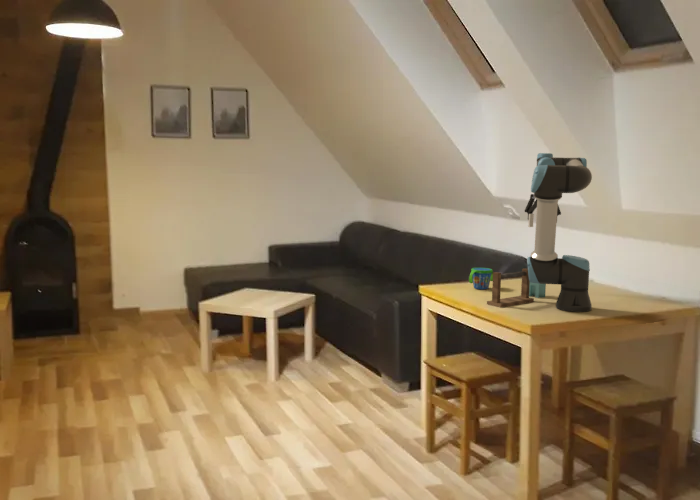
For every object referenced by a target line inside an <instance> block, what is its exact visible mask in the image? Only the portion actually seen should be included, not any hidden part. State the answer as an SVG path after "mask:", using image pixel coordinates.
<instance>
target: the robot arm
mask: <svg viewBox="0 0 700 500" xmlns="http://www.w3.org/2000/svg"><path fill="white" fill-rule="evenodd" d="M587 164H588V161H587V158H585V157H555V156H554V154H553V153H551V152H549V153H547V152H546V153H545V152H544V153H541V152H540V153H537V156H536V167H534V169H533V174H532V177H531V178H532V180H531V186H530V193H531V194H530V195H529V196H530V197H529V200H528V202H527V203H526V204H527V205H526V206H525V207H524V208H525V209H524V213H527V221H528V225H527V226H528V227H529V228H533V227H534V216H535V214H534V211H535V210H536V220H535V234H534V236H535V237H534V238H535V239H534V250H532V252H531V253H530V256H528V257H527V258H526V259H527V260H526V263H527V269H528V275H529V281H530V282H531V283H538V284H546V285H558V286H559V285H560V292H559V295H558V297H557V299H556V302H555V308H556V309H557V310H561V311H565V312H566V311H567V312H576V313H577V312H579V313H580V312H581V313H583V312H584V313H585V312H589V311H592V306H593V305H592V302H591V298H590V294H589V282H590V260H588V259H587V258H584V257H580V256H576V255H572V254H571V255H569V254H567V255H566V254H564V255H562V256H561V258H559V256H558V254H557V252H555V248H556V236H557V235H556V234H557V223H558V216H560V215H562V212H561V209H560V205H559V201H560V200H562V197H563V194H575V193H578V192H581V191H583V190H584V189H586V188H587V187H588V186H589V185H590V184H591V182H592V180H593V179H592V178H593V175H592V172H591V170H590V168H588V165H587Z"/></svg>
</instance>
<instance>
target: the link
mask: <svg viewBox="0 0 700 500" xmlns="http://www.w3.org/2000/svg"><path fill="white" fill-rule="evenodd" d="M546 287H547V284H538V283H531V282H530V285H529V297H534V298H536V299H541V298H546V289H547V288H546Z"/></svg>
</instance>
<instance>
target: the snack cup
mask: <svg viewBox="0 0 700 500" xmlns="http://www.w3.org/2000/svg"><path fill="white" fill-rule="evenodd" d="M470 270H471V272H470V274H469V277H468V282H469V283H470V284H473V285H472V286H473V289H475V290H488V289H489V287H490V283H491V282H493V272H494V271H493V269H492V268H489V267H472V268H471V269H470Z"/></svg>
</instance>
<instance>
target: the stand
mask: <svg viewBox="0 0 700 500" xmlns="http://www.w3.org/2000/svg"><path fill="white" fill-rule="evenodd" d="M515 277H517V278H518V277H521V289H520V290H521V291H520V295H517V296H511V297H505V298H501V288H502V287H501V285H502V279H510V278H515ZM529 285H530V281H529V275H528V268H522V269H521V271H516V272H507V273H502V272H498V271H495V272H494V271H493V281H492V290H491V292H492V293H491V295H492V296H491V300H487V301H486V305H487V304H488V306H493V307H496V308H505V307H511V306H517V305H522V304H529V303H534V301H535V297H534V298H533V297H530V296H529Z"/></svg>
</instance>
